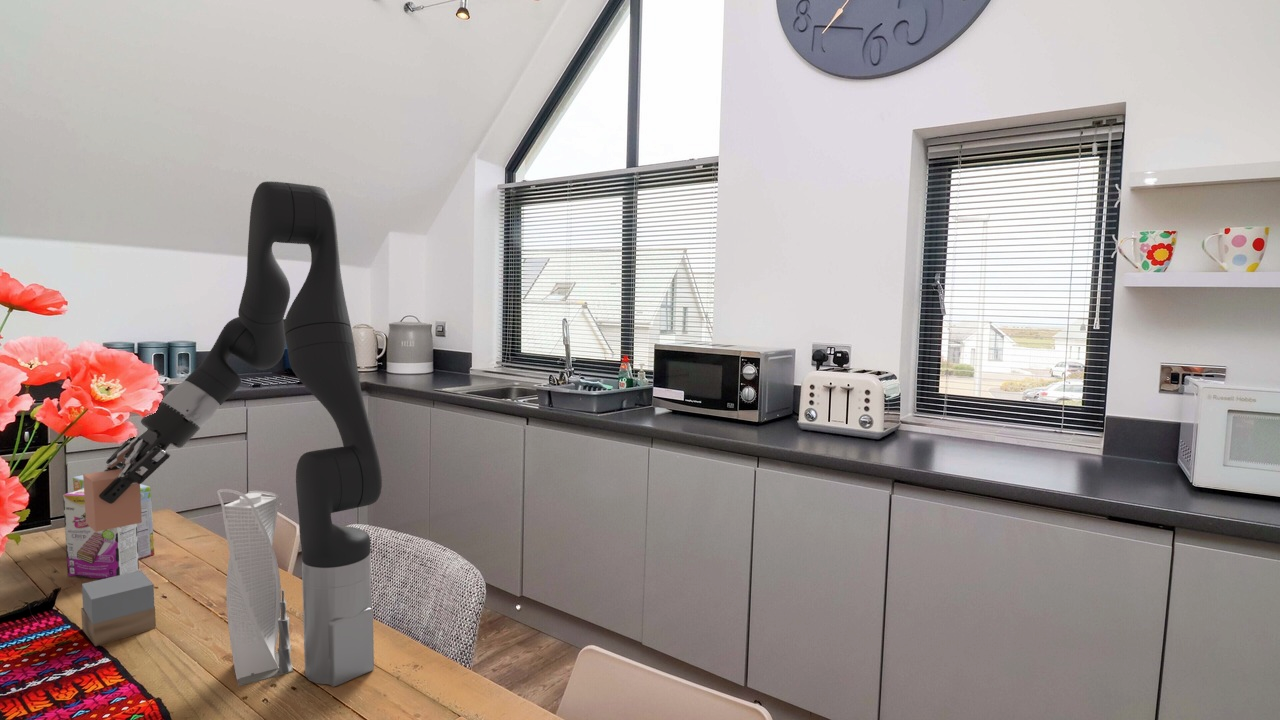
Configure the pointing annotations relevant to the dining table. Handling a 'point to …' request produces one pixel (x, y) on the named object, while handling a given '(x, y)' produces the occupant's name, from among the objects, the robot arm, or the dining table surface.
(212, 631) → the dining table surface
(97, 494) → the salmon orange block
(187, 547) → the dining table surface
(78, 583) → the dining table surface
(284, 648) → the twisted tower model
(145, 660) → the dining table surface
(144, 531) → the snack box
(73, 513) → the candy bar box
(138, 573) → the gray block
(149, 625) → the walnut block
